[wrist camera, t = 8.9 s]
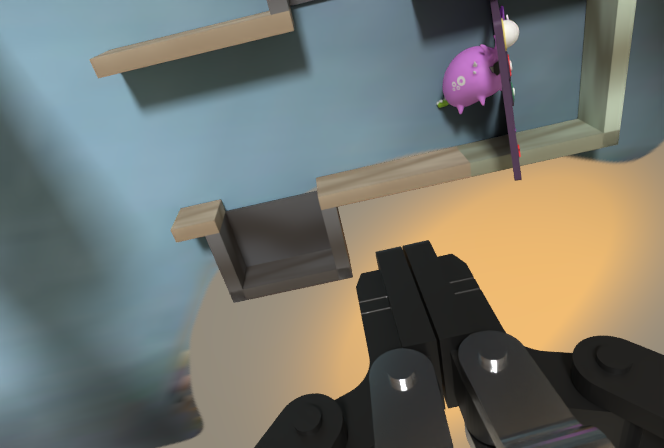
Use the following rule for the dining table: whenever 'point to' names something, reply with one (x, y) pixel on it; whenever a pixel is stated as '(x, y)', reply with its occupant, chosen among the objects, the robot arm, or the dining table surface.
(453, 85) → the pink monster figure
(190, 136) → the dining table surface
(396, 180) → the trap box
